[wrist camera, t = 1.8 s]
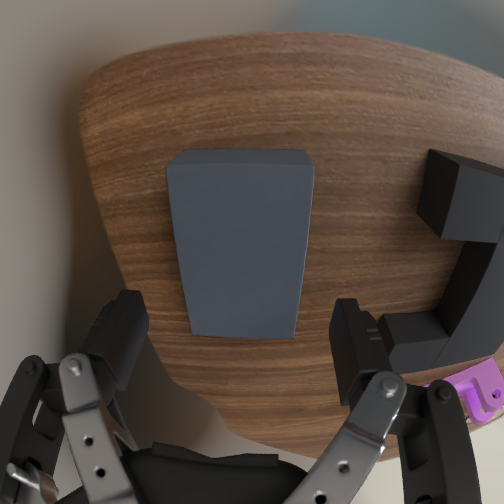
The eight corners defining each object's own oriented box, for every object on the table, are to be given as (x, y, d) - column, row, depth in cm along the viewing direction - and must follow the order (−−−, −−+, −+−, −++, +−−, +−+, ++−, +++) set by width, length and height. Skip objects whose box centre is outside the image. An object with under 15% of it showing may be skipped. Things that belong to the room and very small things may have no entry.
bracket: (492, 357, 23) (512, 399, 17) (479, 379, 26) (494, 418, 20) (406, 391, 25) (420, 442, 20) (399, 410, 28) (409, 455, 22)
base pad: (429, 148, 12) (459, 164, 10) (547, 186, 12) (570, 202, 9) (368, 348, 21) (376, 377, 18) (482, 332, 20) (494, 354, 18)
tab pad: (200, 301, 19) (192, 335, 16) (184, 149, 13) (164, 165, 11) (290, 304, 18) (293, 339, 16) (305, 150, 13) (315, 166, 11)
